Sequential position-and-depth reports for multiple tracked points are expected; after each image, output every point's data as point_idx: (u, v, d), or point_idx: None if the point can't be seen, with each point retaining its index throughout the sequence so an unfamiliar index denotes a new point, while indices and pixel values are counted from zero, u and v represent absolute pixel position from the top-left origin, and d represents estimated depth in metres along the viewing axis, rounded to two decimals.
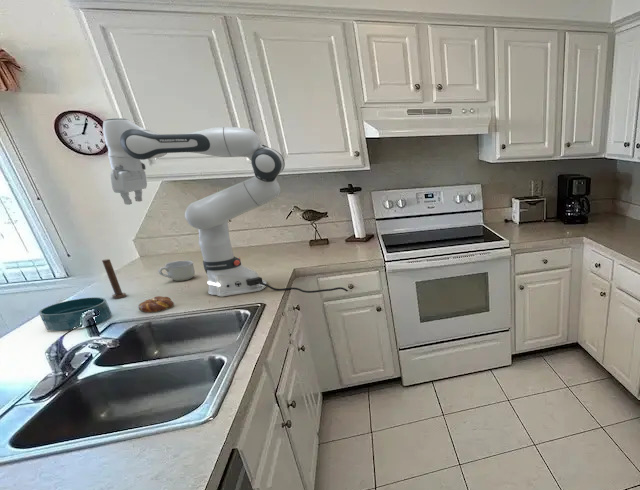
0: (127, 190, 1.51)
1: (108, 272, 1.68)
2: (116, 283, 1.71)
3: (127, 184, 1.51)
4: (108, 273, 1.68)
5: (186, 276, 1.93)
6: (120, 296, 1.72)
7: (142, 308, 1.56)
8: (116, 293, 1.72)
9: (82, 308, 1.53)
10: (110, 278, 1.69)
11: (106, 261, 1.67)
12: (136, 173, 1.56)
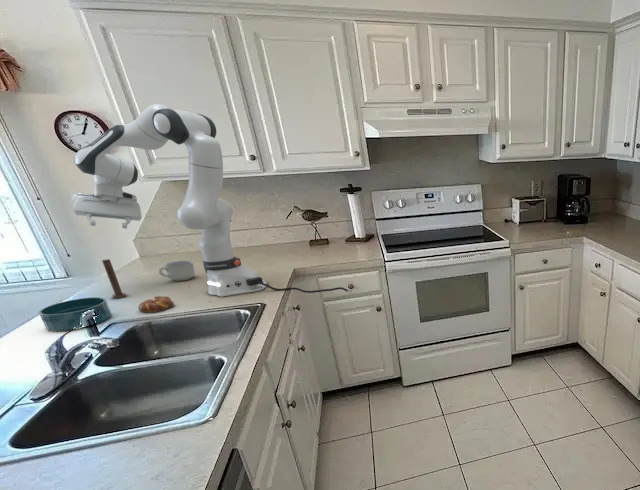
0: (81, 209, 1.62)
1: (108, 272, 1.68)
2: (116, 283, 1.71)
3: (85, 205, 1.63)
4: (108, 273, 1.68)
5: (186, 276, 1.93)
6: (120, 296, 1.72)
7: (142, 308, 1.56)
8: (116, 293, 1.72)
9: (82, 308, 1.53)
10: (110, 278, 1.69)
11: (106, 261, 1.67)
12: (105, 198, 1.67)
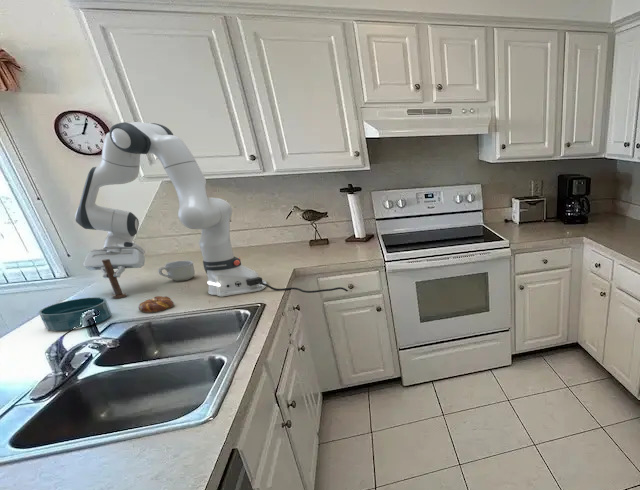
0: (88, 264, 1.69)
1: (108, 272, 1.68)
2: (116, 283, 1.71)
3: (93, 259, 1.70)
4: (108, 273, 1.68)
5: (186, 276, 1.93)
6: (120, 296, 1.72)
7: (142, 308, 1.56)
8: (116, 293, 1.72)
9: (82, 308, 1.53)
10: (110, 278, 1.69)
11: (106, 261, 1.67)
12: (109, 250, 1.71)
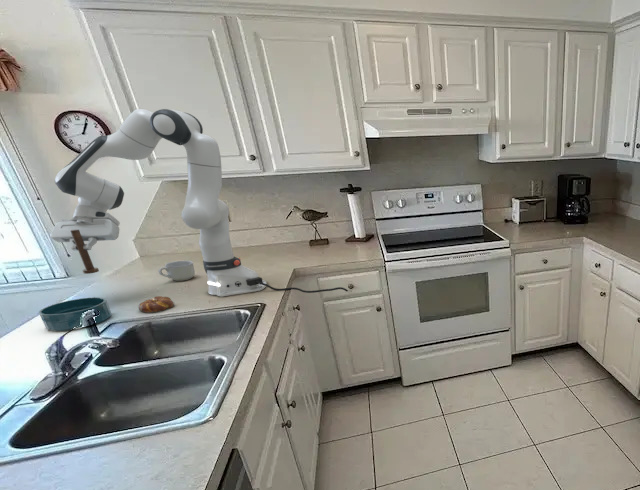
0: (56, 235, 1.53)
1: (77, 244, 1.53)
2: (87, 256, 1.55)
3: (61, 230, 1.54)
4: (77, 245, 1.53)
5: (186, 276, 1.93)
6: (91, 271, 1.56)
7: (142, 308, 1.56)
8: (87, 267, 1.56)
9: (82, 308, 1.53)
10: (80, 251, 1.54)
11: (75, 231, 1.51)
12: (79, 220, 1.55)
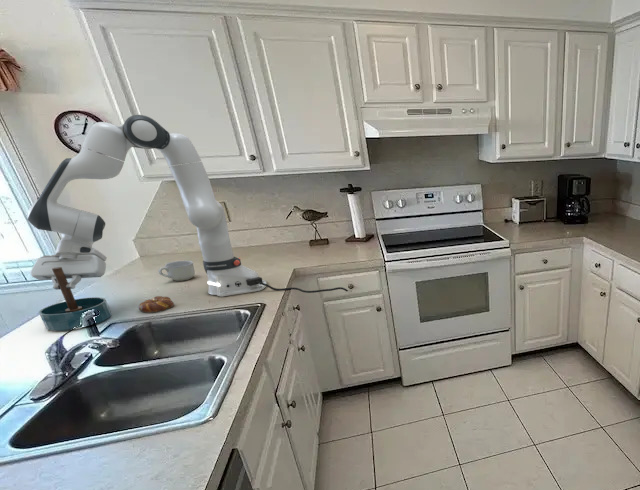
0: (36, 273, 1.42)
1: (60, 283, 1.42)
2: (70, 295, 1.45)
3: (42, 267, 1.43)
4: (60, 284, 1.42)
5: (186, 276, 1.93)
6: None
7: (142, 308, 1.56)
8: (70, 307, 1.45)
9: None
10: (62, 290, 1.43)
11: (57, 270, 1.41)
12: (62, 256, 1.45)
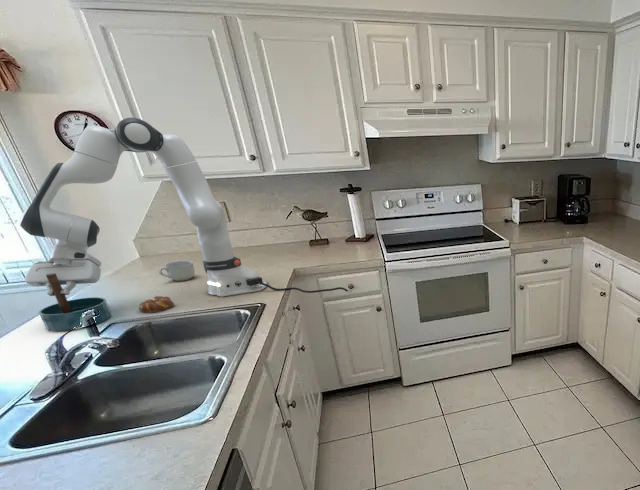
0: (30, 279, 1.41)
1: (54, 289, 1.40)
2: (64, 302, 1.43)
3: (36, 274, 1.42)
4: (54, 290, 1.41)
5: (186, 276, 1.93)
6: None
7: (142, 308, 1.56)
8: None
9: (82, 308, 1.53)
10: (57, 296, 1.41)
11: (51, 276, 1.39)
12: (56, 262, 1.43)
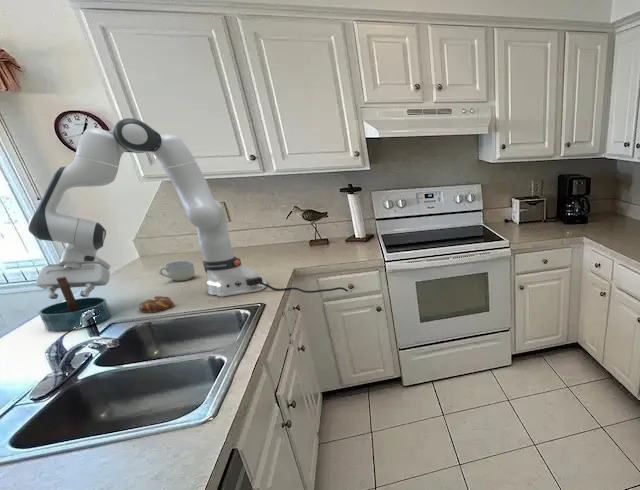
0: (41, 282, 1.44)
1: (64, 292, 1.43)
2: (74, 305, 1.46)
3: (47, 276, 1.45)
4: (64, 293, 1.43)
5: (186, 276, 1.93)
6: None
7: (142, 308, 1.56)
8: None
9: (82, 308, 1.53)
10: (67, 299, 1.44)
11: (61, 279, 1.42)
12: (66, 265, 1.46)
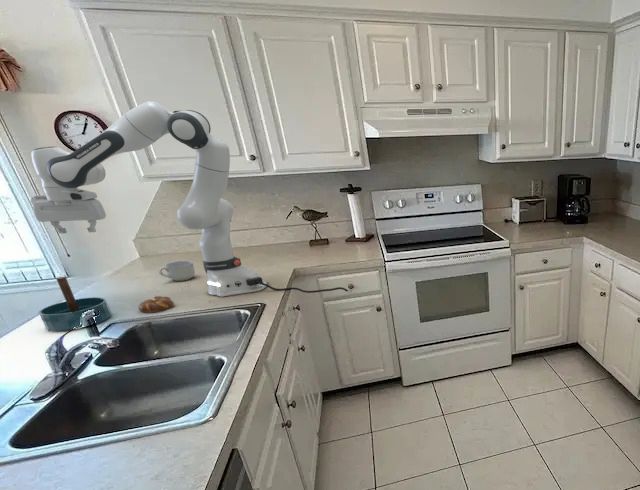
0: (43, 219, 1.49)
1: (64, 292, 1.43)
2: (74, 305, 1.46)
3: (44, 213, 1.49)
4: (64, 293, 1.43)
5: (186, 276, 1.93)
6: None
7: (142, 308, 1.56)
8: None
9: (82, 308, 1.53)
10: (67, 299, 1.44)
11: (61, 279, 1.42)
12: (57, 203, 1.47)
